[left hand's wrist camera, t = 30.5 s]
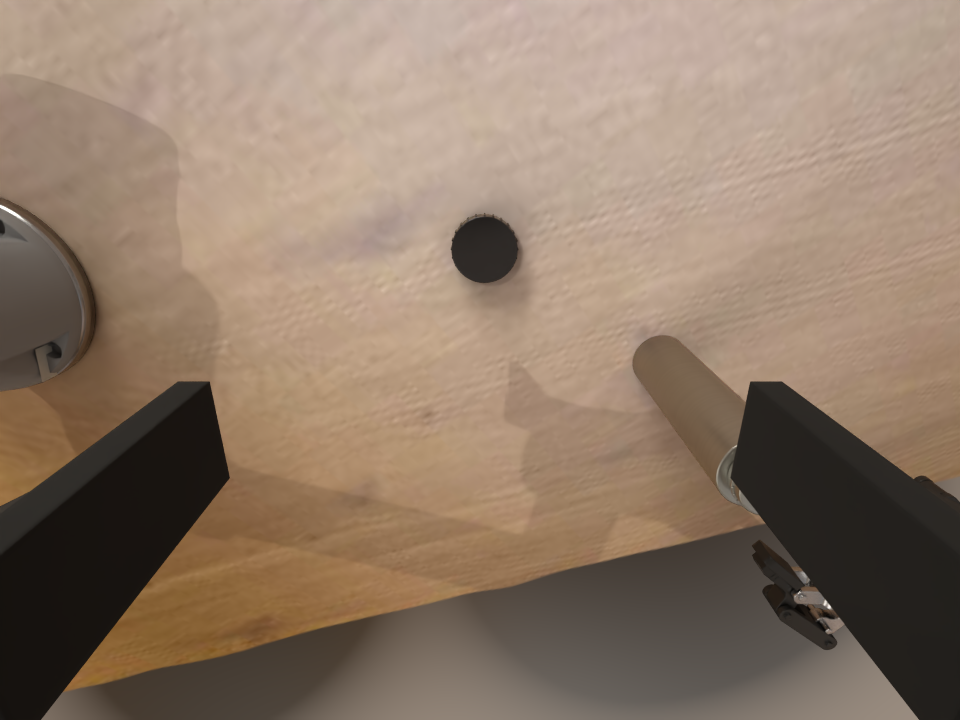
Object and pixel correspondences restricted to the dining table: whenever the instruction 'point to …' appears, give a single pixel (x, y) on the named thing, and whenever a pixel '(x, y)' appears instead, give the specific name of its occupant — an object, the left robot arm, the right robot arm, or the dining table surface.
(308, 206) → the dining table surface
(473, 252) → the lid
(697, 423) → the bottle
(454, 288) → the dining table surface
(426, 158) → the dining table surface
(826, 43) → the dining table surface
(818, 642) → the right robot arm
